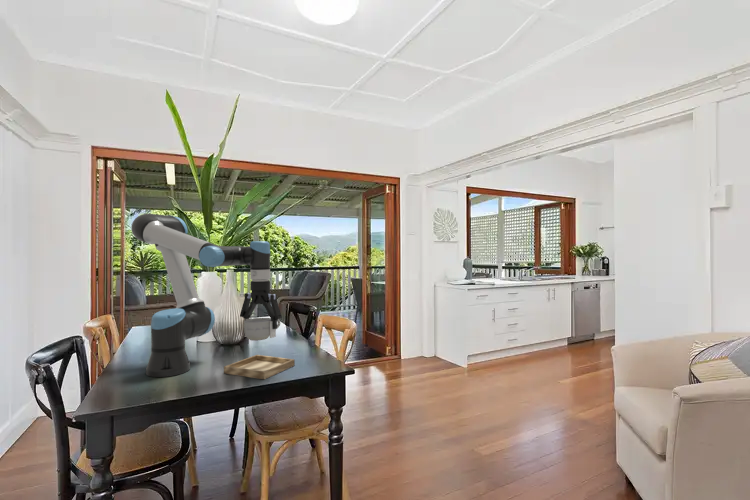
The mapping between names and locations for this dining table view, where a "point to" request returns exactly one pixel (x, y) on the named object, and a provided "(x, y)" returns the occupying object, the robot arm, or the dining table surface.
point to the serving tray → (259, 366)
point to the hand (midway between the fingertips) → (260, 336)
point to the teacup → (258, 328)
